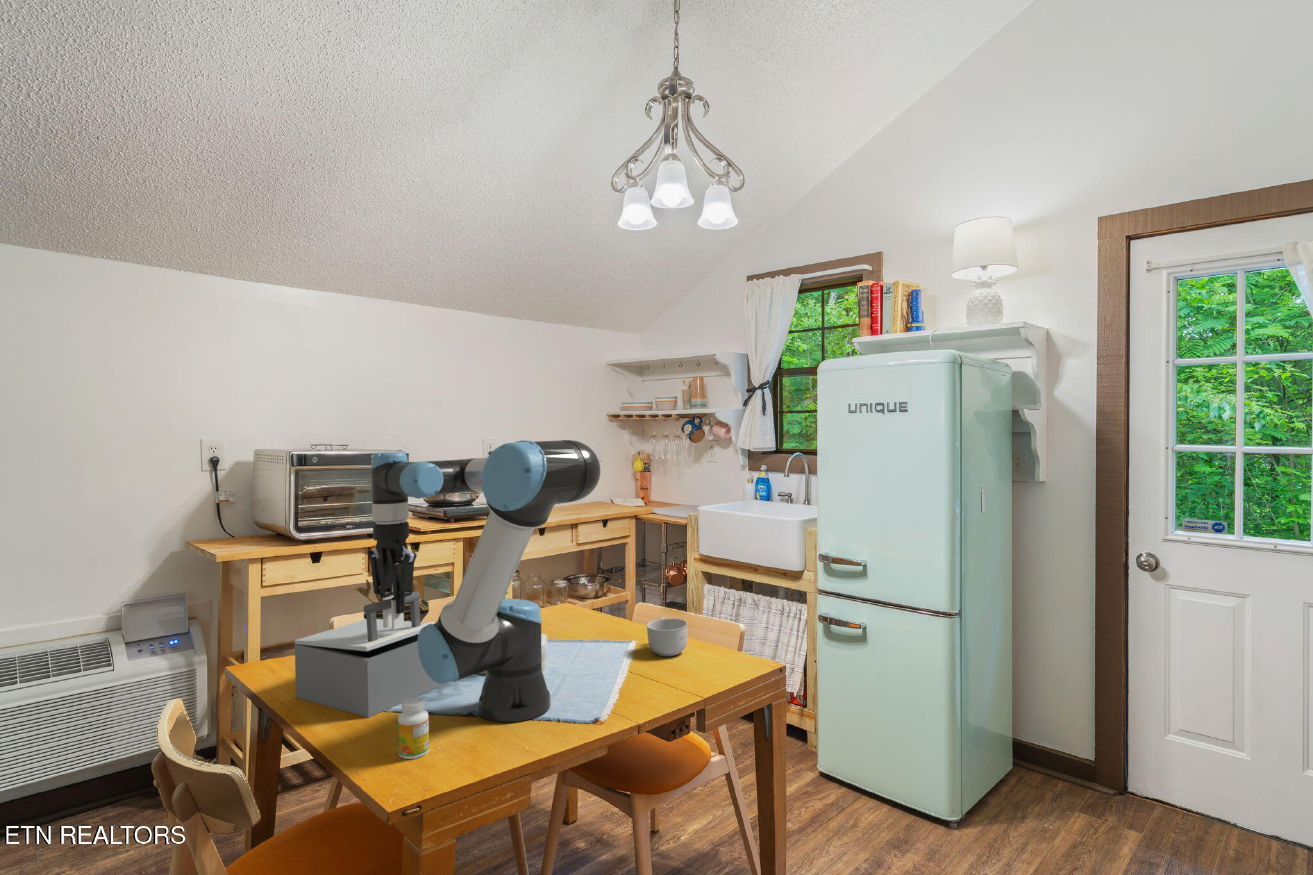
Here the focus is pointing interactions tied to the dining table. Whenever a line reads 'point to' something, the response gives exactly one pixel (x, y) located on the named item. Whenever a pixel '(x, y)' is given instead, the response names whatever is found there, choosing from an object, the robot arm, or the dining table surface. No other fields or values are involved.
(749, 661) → the dining table surface
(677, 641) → the teacup
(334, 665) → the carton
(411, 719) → the supplement bottle
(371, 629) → the lid flap
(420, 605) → the decorative box
